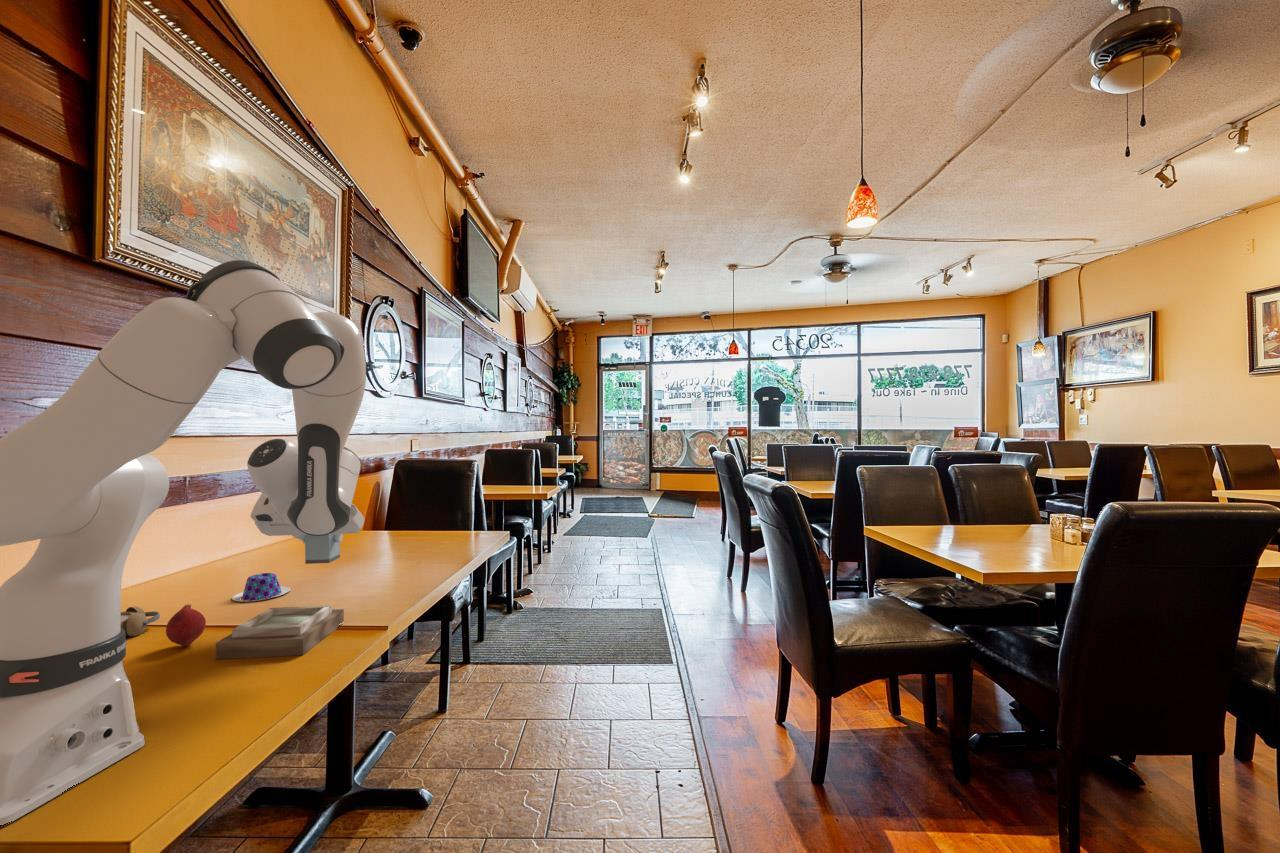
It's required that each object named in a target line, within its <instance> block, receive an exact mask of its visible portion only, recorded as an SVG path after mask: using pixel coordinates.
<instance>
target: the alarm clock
mask: <svg viewBox="0 0 1280 853" xmlns="http://www.w3.org/2000/svg"><path fill="white" fill-rule="evenodd" d="M147 617H150V618H147ZM160 617H161V616H160V611H154V610H153V611H145V610H144V609H143V608H142V607H140V606H135V605H134V606H129V607H128V608H126V610H125V611H121V628H122V629H124V630H125V637H127V636H129V637H131V638H132V637H133V638H134V637H138V636H140V635H141V634H142V633H143V632H144V631H145V630H146V628H147V625H149V624H151V623H154V622H156V621H158V620H159V619H160Z"/></svg>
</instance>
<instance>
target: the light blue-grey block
mask: <svg viewBox="0 0 1280 853" xmlns="http://www.w3.org/2000/svg"><path fill="white" fill-rule="evenodd" d="M333 536H334V535H333V534H327V535H323V536H312V535H305V544H304V553H305V554H304V563H305V564H304V565H309V564H331V563H332V562H334V561H336V560H338V559H339V558H341V542H339V543H334V542H333V540H332V537H333Z"/></svg>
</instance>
